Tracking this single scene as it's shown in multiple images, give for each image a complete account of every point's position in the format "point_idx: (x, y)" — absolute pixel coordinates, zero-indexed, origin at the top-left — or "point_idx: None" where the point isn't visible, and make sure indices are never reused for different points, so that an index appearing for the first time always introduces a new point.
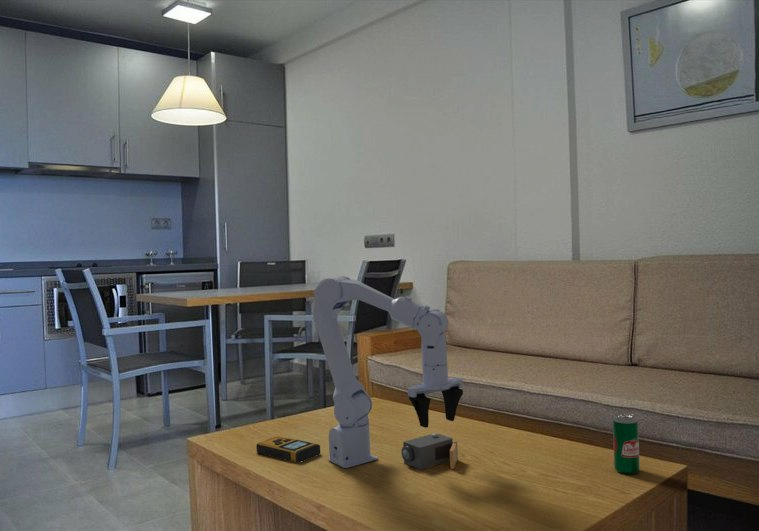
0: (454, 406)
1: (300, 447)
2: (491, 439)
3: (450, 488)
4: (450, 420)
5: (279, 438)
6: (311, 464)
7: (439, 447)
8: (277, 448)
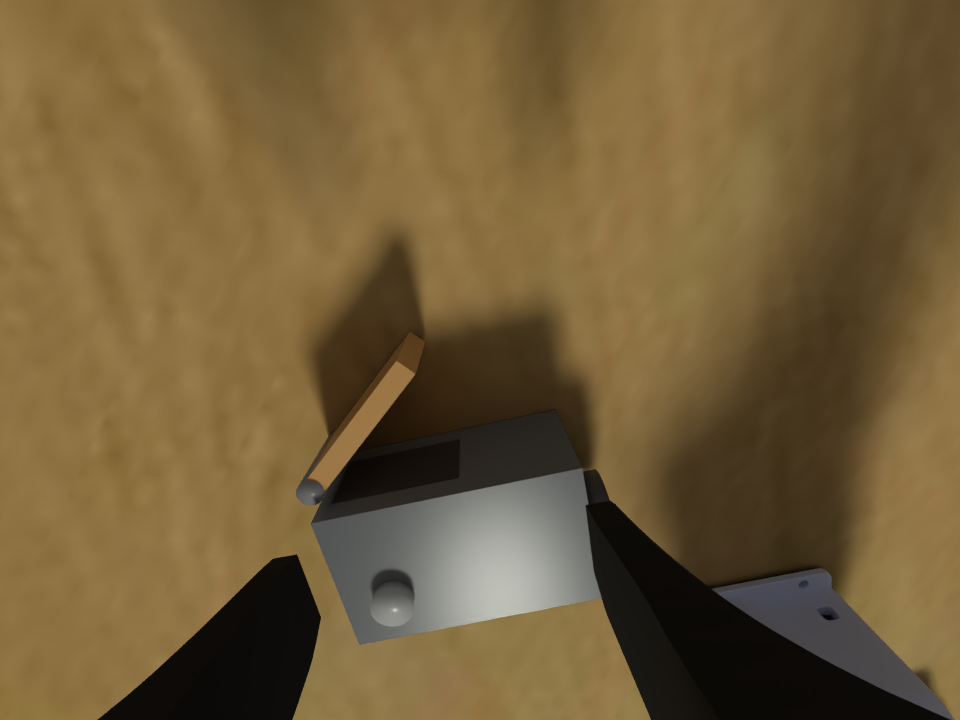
0: (188, 678)
1: None
2: (43, 601)
3: (565, 92)
4: (303, 573)
5: None
6: None
7: (424, 481)
8: None
